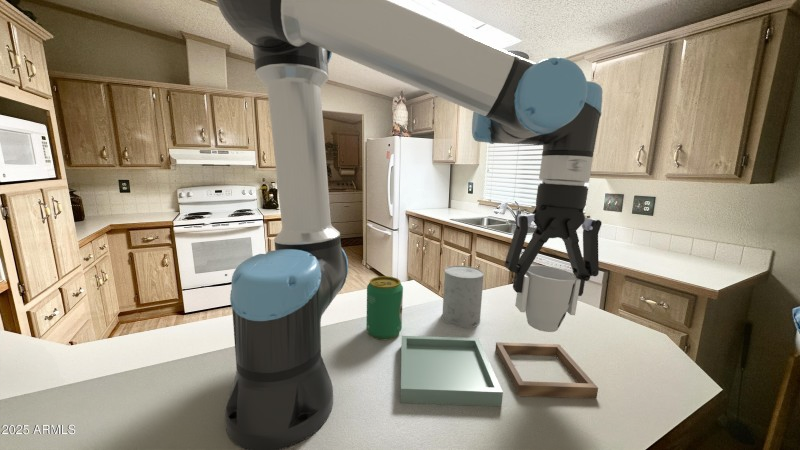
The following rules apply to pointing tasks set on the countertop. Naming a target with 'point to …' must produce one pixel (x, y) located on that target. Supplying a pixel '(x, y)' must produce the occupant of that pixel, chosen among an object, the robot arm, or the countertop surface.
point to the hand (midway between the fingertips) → (544, 310)
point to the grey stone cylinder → (462, 296)
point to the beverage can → (384, 307)
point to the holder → (545, 389)
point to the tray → (447, 372)
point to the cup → (548, 296)
